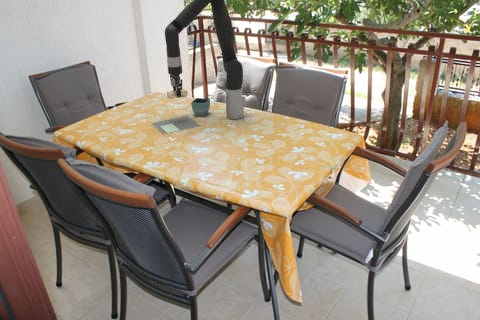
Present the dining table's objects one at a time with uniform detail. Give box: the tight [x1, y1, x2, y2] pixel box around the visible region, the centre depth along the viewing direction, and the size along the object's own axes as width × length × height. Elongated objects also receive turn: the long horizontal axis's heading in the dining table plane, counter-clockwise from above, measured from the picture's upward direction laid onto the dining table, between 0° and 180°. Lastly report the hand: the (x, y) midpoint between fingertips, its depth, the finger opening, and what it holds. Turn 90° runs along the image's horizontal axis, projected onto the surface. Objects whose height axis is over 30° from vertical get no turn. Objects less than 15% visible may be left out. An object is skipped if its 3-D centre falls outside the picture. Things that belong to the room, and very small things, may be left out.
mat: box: [150, 115, 201, 135], centre depth 224 cm, size 22×19×1 cm
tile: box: [166, 88, 188, 100], centre depth 222 cm, size 10×5×3 cm, turn 117°
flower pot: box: [190, 97, 211, 117], centre depth 236 cm, size 9×9×9 cm
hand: (177, 95), depth 223 cm, fingers closed on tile, 5 cm apart
